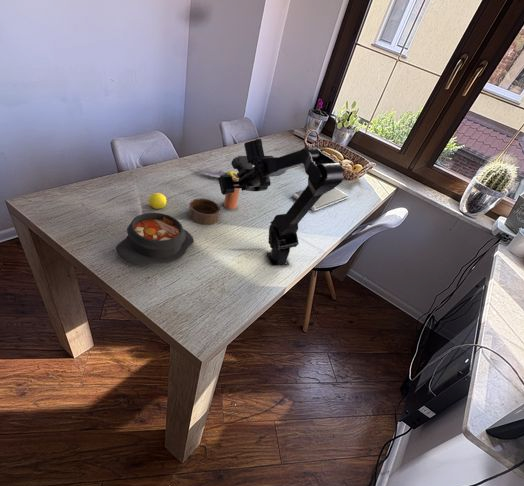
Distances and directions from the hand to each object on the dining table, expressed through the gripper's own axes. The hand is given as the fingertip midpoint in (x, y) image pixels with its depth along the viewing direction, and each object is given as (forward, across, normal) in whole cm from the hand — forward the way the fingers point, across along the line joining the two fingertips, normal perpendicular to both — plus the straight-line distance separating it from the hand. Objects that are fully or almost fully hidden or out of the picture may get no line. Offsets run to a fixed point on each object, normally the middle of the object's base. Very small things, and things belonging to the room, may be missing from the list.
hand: (233, 189), depth 136 cm
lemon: (+9, +27, +2) cm, 28 cm away
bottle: (+5, 0, +5) cm, 7 cm away
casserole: (-6, +36, +17) cm, 41 cm away
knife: (+20, -9, -10) cm, 24 cm away
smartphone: (+4, -47, +6) cm, 47 cm away
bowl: (+2, +14, +8) cm, 16 cm away
